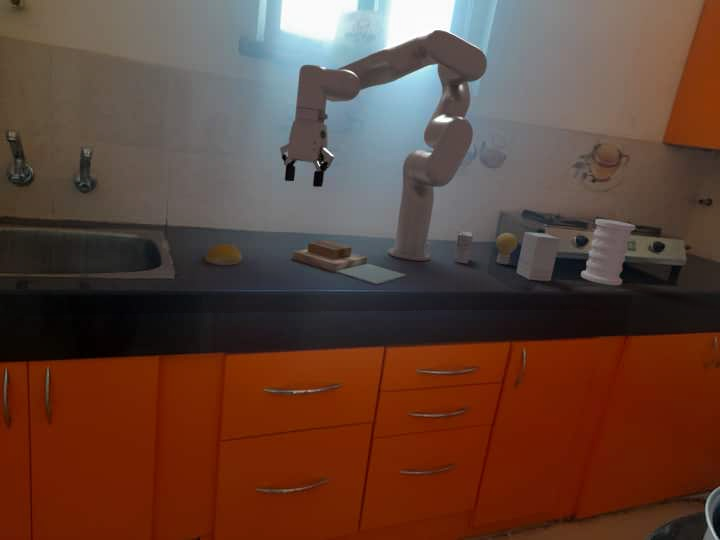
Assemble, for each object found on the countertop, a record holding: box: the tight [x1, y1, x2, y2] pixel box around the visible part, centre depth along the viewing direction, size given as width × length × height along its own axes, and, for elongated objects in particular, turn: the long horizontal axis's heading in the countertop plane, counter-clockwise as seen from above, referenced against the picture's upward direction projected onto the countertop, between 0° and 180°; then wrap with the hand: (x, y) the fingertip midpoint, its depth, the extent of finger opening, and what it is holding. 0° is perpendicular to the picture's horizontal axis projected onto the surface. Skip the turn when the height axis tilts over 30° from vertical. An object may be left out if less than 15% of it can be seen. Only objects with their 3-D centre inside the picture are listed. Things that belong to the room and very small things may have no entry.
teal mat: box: [335, 263, 407, 286], centre depth 126 cm, size 14×12×1 cm
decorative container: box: [580, 218, 636, 286], centre depth 152 cm, size 12×12×18 cm
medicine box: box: [453, 230, 473, 265], centre depth 155 cm, size 8×4×9 cm, turn 168°
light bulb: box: [495, 232, 518, 266], centre depth 157 cm, size 6×6×10 cm
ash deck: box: [292, 248, 368, 273], centre depth 133 cm, size 14×14×2 cm
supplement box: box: [515, 231, 561, 282], centre depth 144 cm, size 7×7×13 cm
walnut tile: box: [307, 239, 352, 260], centre depth 132 cm, size 7×9×2 cm
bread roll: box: [204, 243, 243, 266], centre depth 120 cm, size 8×9×4 cm
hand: (303, 183), depth 133 cm, fingers open, 9 cm apart
